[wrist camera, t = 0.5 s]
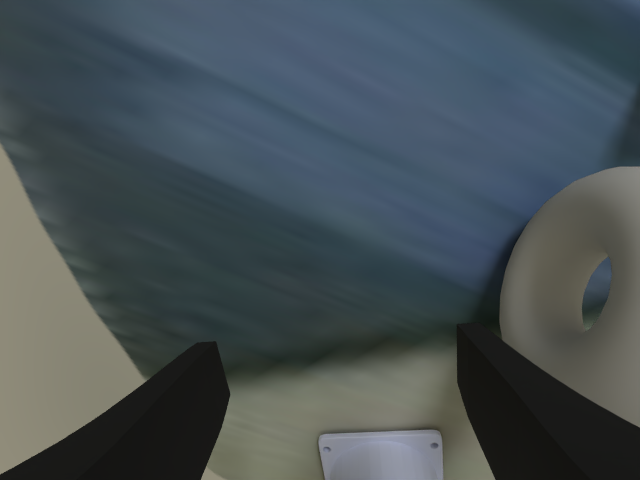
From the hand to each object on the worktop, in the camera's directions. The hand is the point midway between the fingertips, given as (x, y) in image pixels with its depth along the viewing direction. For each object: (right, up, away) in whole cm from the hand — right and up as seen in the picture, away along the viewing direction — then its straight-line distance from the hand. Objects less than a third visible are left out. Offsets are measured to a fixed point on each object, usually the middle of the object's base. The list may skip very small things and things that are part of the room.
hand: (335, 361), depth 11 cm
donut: (+11, +3, +8) cm, 14 cm away
